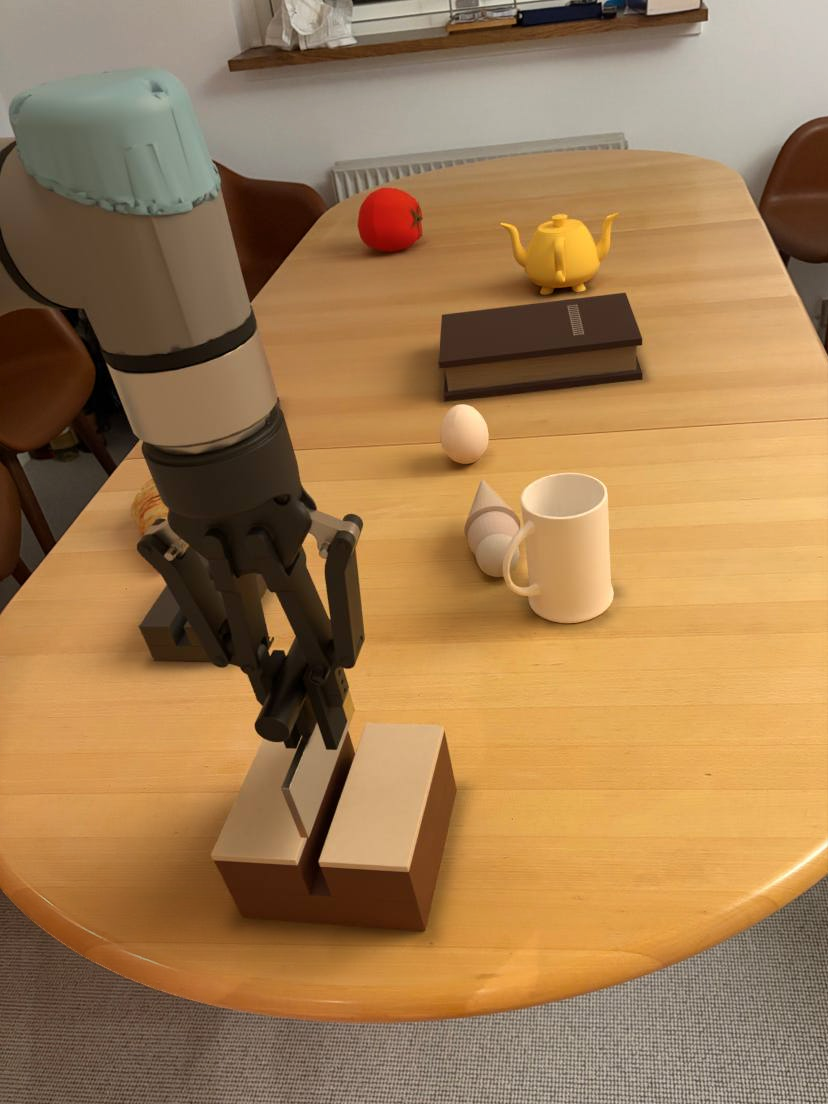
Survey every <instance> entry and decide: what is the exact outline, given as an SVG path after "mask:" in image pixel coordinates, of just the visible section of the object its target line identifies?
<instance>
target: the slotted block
mask: <svg viewBox="0 0 828 1104" xmlns="http://www.w3.org/2000/svg"><path fill="white" fill-rule="evenodd" d="M195 551H196V550H195ZM196 552H197V551H196ZM197 554H198V556H199V558H200V559H201V561H202V563H203V565H204V567H205V569H206V571H207V572H208V574H209V576H210V578H211V580H212V582H213V578H212V574H211V570H210V566H209V562H208V560H207V559H205V558H204V557H203V556H202V555H201V554H199V553H198V552H197ZM255 576H256V581H257V585H258V590H259V594H260V599H261V600H262V598H263V597H264V595H265V593H266V591H267V590H268V587H267V585H266V583H265V581H264V579H263V577H262V575H261V574H256V573H255ZM213 584H214V582H213ZM214 586H215V585H214ZM218 593H219V595H220V597H221V599H222V595H221V592H220V591H218ZM222 600H223V599H222ZM138 628H139V629H138V630H139V631H140V633H141V635H142V637H143V639H144V641H145V644H146V646H147V648H148V651H149V653H150V655H151V657H152V659H153V661H154V662H155V661H157V662H158V661H159V662H211V660H210V659H209V657H208V655H207V654H206V652H205V650H204V648H203V647H202V645H201V643H200V641H199V640H198V638H197V636H196V634H195V633H194V631H193V629H192V628H191V626H190V624H189V622H188V621H187V619H186V617H185V615H184V614H183V612H182V610H181V608H180V607H179V605H178V603H177V602H176V600H175V598H174V596H173V595H172V593H171V591H170V589H169V588H168V586H167V584H165V587H164V588H163V590H162V591H161V593H160V594H159V595H158V597H157V599H156V600H155V601H154V603H153V604H152V606H151V607H150V609H149V610H148V612H147V614H146V615H145V616H144V618H143V619H142V621H141V622H140V623H139V625H138Z"/></svg>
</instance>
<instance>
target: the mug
mask: <svg viewBox="0 0 828 1104" xmlns="http://www.w3.org/2000/svg"><path fill="white" fill-rule="evenodd" d="M608 495H609V493H608V489H607V487H606V485H605V484H604V483H603V481H602V480H600V479H598V478H596V477H594V476H591V475H588V474H585V473H578V472H560V473H554V474H550V475H546V476H543V477H540V478H537V479H536V480H534V481H532V482H531V483H529V484H528V485H526V487H524V489H523V490H522V492H521V495H520V509H521V518H522V527H520V530H519V531H518V532H517V533H516V534H515V536H514V537H513V539H512V540H511V542H510V543H509V545H508V547H507V550H506V552H505V555H504V560H503V579H504V582H505V584H506V586H507V587H508V588H509V590H511V591H512V592H513V593H515V594H517V595H519V596H522V597H528V604H529V606H530V608H531V610H532V611H533V612H534V613H535V614H536V615H538V616H539V617H541V618H542V619H545V620H547V621H549V622H553V623H558V624H559V623H560V624H573V623H574V624H577V623H582V622H587V621H589V620H593V619H595V618H597V617H599V616H600V615H602V614H603V613H604V612H606V611H607V610H608V609H609V608H610V606H611V604H612V603H613V600H614V596H615V595H614V594H615V593H614V587H613V585H612V578H611V553H610V552H611V551H610V523H609V496H608ZM523 541H524V546H525V547H524V548H525V557H526V565H527V566H526V567H527V574H528V575H527V576H528V586H518V585H516V584H514V582H513V580H512V578H511V573H509V568H510V562H511V559H512V556H513V554H514V552H515V550H516V548H517V547H518V545H519V544H521V543H522V542H523ZM519 546H520V545H519ZM518 548H519V547H518Z"/></svg>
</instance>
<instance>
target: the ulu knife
mask: <svg viewBox="0 0 828 1104" xmlns="http://www.w3.org/2000/svg"><path fill="white" fill-rule="evenodd" d="M329 620H330V622H331V619H330V618H329ZM308 665H309V664H308V661H307V659H306V657H305V655H304V653H303V651H302V649H301V647H300V644H299V642H298V640H297V638H296V636H295V637H294V639H293V641H292V643H291V645H290V647H289V649H288V652H287V653H286V658H285V660H284V662H283V664H282V666H281V668H280V671H279V673H278V675H277V677H276V679H275V681H274V683H273V685H272V688H271V690H270V692H269V694H268V696H267V698H266V700H265V702H264V705H263V706H261V709H260V711H259V713H258V716H257V717H256V719H255V722H254V725H253V726H254V730H255V732H256V734H257V735H258V736H259V737H260V738H262V739H263V738H264V739H265V740H268V741H271V742H283V741H285V740H287V739H288V738H289V736H290V733H291V731H292V729H293V726H294V724H295V722H296V724H297V727H298V730H299V733H300V735H301V736H302V738H301V740H300V743H299V745H298V748H297V750H296V752H295V755H294V757H293V760H292V762H291V765H290V767H289V770H288V772H287V774H286V777H285V779H284V782H283V784H282V787H281V790H282V793H283V795H284V798H285V800H286V803H287V805H288V808H289V810H290V813H291V815H292V817H293V820H294V822H295V825H296V827H297V830H298V832H299V835H300V837H301V838H309V836H310V833H311V830H312V828H313V825H314V822H315V819H316V817H317V814H318V811H319V808H320V805H321V803H322V800H323V797H324V794H325V792H326V789H327V786H328V783H329V781H330V778H331V775H332V772H333V770H334V767H335V764H336V761H337V759H338V756H339V753H340V750H341V747H342V745H343V742H344V739H345V736H346V734H347V731H349V728H350V725H351V722H352V720H353V717H354V715H355V711H356V709H355V705H354V702H353V699H352V696H351V692H350V688H349V689H348V693H347V696H346V698H345V701H344V704H343V708H344V711H345V715H346V718H347V724H346V727H345V729H344V732H343V735H342V738H341V740H340V743H339V746H338V749H337V750H326V747H325V744H324V741H323V738H322V735H321V732H320V729H319V726H318V723H317V720H316V718H315V715H314V712H313V709H312V706H311V703H310V700H309V697H308V694H307V689H306V687H305V685H304V682H303V676H304V674H305V672H306V669H307V667H308Z"/></svg>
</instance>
